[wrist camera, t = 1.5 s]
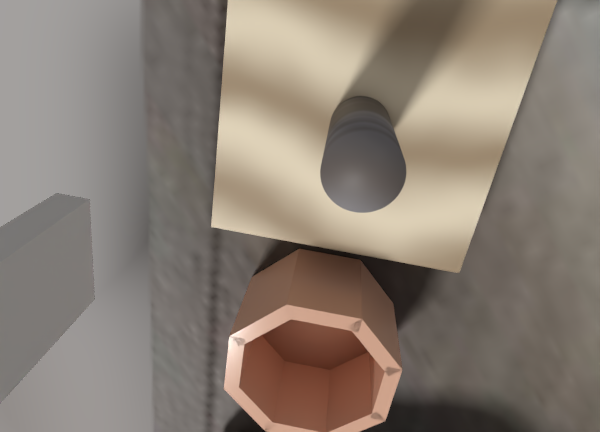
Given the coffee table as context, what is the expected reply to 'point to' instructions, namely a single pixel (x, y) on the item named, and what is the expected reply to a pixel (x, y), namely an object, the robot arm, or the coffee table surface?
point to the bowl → (314, 346)
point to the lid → (370, 120)
